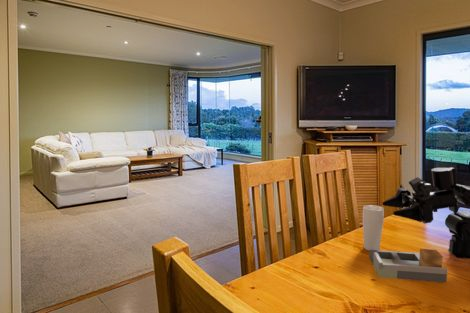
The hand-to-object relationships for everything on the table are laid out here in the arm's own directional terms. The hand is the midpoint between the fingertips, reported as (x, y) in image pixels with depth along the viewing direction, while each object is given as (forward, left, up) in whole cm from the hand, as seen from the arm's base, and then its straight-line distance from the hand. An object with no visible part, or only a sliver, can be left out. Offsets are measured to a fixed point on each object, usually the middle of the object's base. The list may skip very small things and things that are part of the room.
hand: (387, 208), depth 112 cm
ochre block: (-9, +14, -13) cm, 21 cm away
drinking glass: (+4, -3, -16) cm, 17 cm away
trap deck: (-3, +11, -16) cm, 19 cm away
